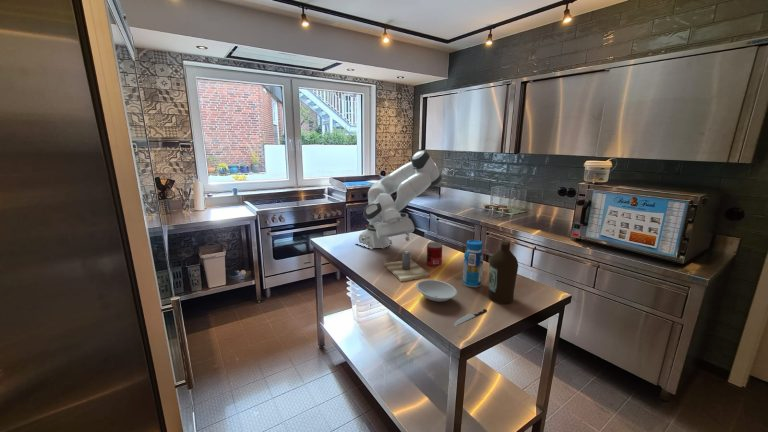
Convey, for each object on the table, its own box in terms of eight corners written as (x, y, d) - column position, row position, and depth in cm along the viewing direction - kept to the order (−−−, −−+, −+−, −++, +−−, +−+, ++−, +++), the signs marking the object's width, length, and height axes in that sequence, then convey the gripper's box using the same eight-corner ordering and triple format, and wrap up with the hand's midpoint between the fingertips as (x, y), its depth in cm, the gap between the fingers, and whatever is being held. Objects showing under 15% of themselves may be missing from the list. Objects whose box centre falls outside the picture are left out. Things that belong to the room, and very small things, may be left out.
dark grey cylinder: (405, 270, 147) (405, 253, 145) (400, 267, 151) (401, 250, 149) (411, 269, 149) (411, 252, 147) (407, 266, 153) (407, 249, 150)
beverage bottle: (458, 281, 139) (460, 240, 134) (473, 278, 142) (475, 238, 137) (470, 289, 131) (473, 246, 126) (485, 285, 134) (488, 243, 130)
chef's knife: (445, 325, 106) (451, 328, 104) (445, 322, 106) (451, 325, 104) (481, 308, 117) (487, 311, 114) (481, 306, 116) (487, 308, 114)
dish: (464, 302, 121) (464, 290, 120) (441, 314, 112) (441, 302, 111) (431, 286, 134) (431, 276, 133) (408, 296, 125) (408, 285, 124)
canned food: (444, 263, 159) (445, 244, 157) (435, 268, 154) (436, 247, 151) (432, 260, 164) (432, 241, 162) (423, 264, 159) (424, 244, 156)
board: (384, 266, 157) (384, 263, 156) (410, 261, 162) (410, 259, 162) (400, 281, 139) (400, 278, 138) (429, 276, 144) (429, 273, 144)
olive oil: (507, 292, 128) (513, 236, 123) (519, 304, 118) (525, 244, 112) (483, 292, 128) (487, 236, 122) (492, 305, 118) (497, 245, 112)
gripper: (373, 219, 155) (380, 243, 148) (410, 213, 160) (418, 235, 153) (372, 226, 160) (379, 248, 154) (408, 219, 165) (416, 241, 159)
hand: (399, 242), depth 153 cm, fingers open, 8 cm apart
